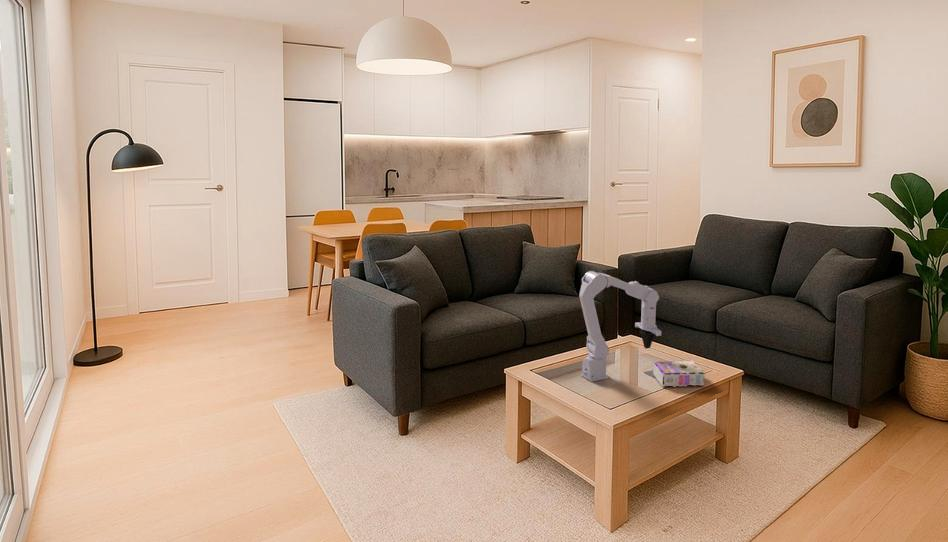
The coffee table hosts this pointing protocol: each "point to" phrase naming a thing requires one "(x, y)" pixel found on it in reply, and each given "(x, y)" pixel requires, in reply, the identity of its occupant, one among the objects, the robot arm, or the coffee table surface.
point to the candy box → (678, 373)
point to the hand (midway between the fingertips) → (647, 347)
